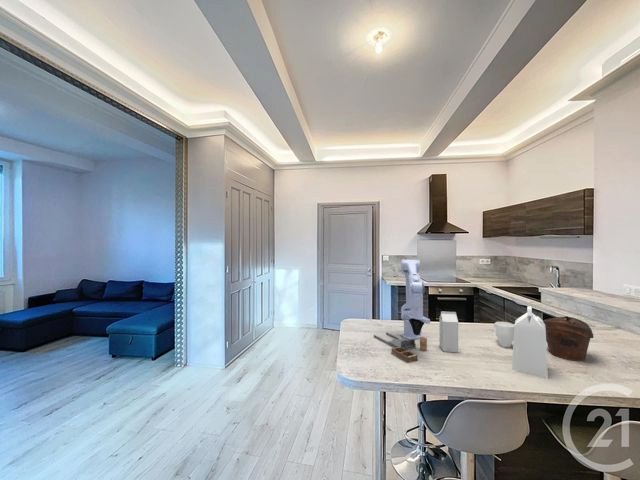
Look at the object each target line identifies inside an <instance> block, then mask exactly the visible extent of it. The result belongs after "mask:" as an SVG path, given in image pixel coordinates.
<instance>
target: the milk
mask: <svg viewBox="0 0 640 480" xmlns="http://www.w3.org/2000/svg"><path fill="white" fill-rule="evenodd" d="M543 321H544V320H542V318H541V317H539V316H538V315H536V314H534V313H533V308H532V306H529V305H527V308H526V313H524V314H522V315H521V316H519V317H517V319H515V321H514V340H513V342H512V345H513V347H512V366H511V370H513V371H515V372H516V371H517V372H519V373H520V372H521V373H525V374H529V375H532V376H537V377H541V378H546V379H548V377H549V376H548V373H549V372H548V353H547V349H548V348H547V342H546V327H545V324H544V323H543Z"/></svg>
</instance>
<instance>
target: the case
mask: <svg viewBox="0 0 640 480" xmlns="http://www.w3.org/2000/svg"><path fill="white" fill-rule="evenodd" d="M542 321H543V323H544V324H545V327H546V345H547V349H548V352H549V353H550V354H551V355H552V356H555V357H558V358H561V359H565V360H569V361H579V362H580V361H583V360H586V357H587V352H588V348H589V344H590V341H591V339H593V338H594V337H595V336H594V333H593V330H592V328H591V327H590V325H589V324H588V323H586V322H584V321H583V320H582V319H578V318H575V317H572V316H558V317H551V318H548V319H544V320H542Z"/></svg>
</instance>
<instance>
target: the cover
mask: <svg viewBox="0 0 640 480" xmlns="http://www.w3.org/2000/svg"><path fill="white" fill-rule="evenodd" d="M415 340H416V339H407V338H406V339H405V337H404V338H400V339H397V340H396V339H393V340H389V341H388V342H389V343H391V344H393V345H395V346H397V347H402V348H407V347H411V346H416V347H417V344H416V341H415Z"/></svg>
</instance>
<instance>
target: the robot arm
mask: <svg viewBox="0 0 640 480" xmlns="http://www.w3.org/2000/svg"><path fill="white" fill-rule="evenodd" d="M400 261H401V262H400V267H401V268H400V269H401V271H400V272H401V274H402V275H404V277H405V302H406V303H404V304H403V305H402V306H401V309H400V314H401V315H400V316H401V320H402V321H403V333H401V334H400V336H401V337H404V339H405V338H406V339H407V340H410V339H414V340H416V339H420V337H424V336H423V335H422V329H423V326H424V325H425V324H426V325H429V324H431V319H430V318H428V317H426V316H424V293H425V284H424V281H422V279H421V276H420V274H419V272H420V268H421V262H420V260H419V259H403V258H402V259H401V260H400Z"/></svg>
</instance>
